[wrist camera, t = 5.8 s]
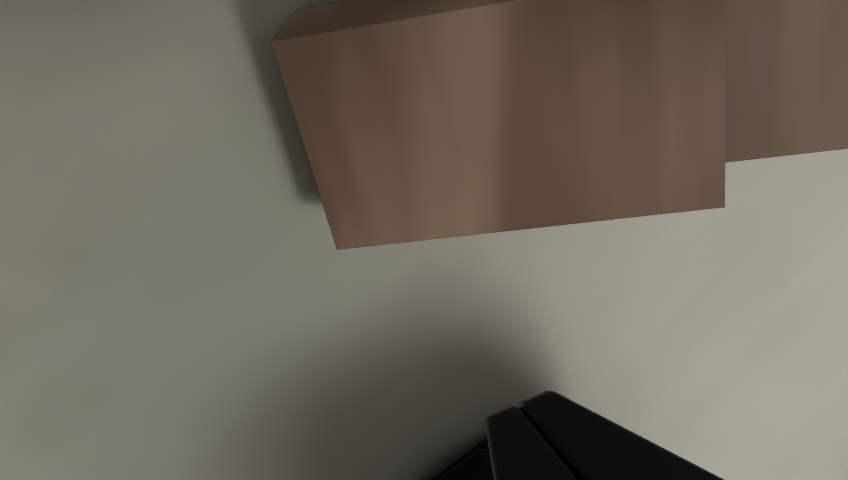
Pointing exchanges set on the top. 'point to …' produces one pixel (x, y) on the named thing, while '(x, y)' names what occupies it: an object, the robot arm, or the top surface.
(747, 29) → the domino
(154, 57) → the top surface
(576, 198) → the domino
